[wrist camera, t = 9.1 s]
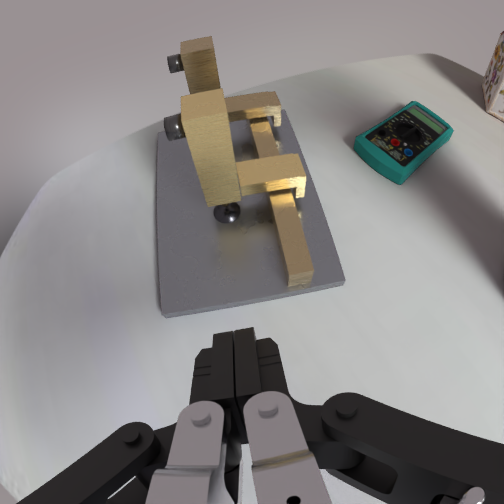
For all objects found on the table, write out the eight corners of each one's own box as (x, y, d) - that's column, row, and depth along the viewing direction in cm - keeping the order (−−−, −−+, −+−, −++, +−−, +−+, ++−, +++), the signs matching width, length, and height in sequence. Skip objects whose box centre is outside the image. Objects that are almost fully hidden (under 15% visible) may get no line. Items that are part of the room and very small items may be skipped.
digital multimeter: (348, 152, 35) (352, 135, 33) (409, 111, 39) (414, 96, 36) (395, 191, 32) (403, 175, 30) (449, 141, 36) (456, 126, 33)
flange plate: (284, 116, 38) (284, 108, 37) (342, 285, 28) (345, 279, 26) (160, 139, 38) (157, 132, 36) (166, 318, 27) (161, 314, 26)
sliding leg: (295, 178, 31) (301, 78, 20) (303, 201, 30) (314, 100, 19) (194, 196, 31) (162, 101, 20) (196, 221, 30) (160, 126, 19)
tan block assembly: (273, 113, 37) (270, 24, 25) (327, 278, 27) (361, 189, 16) (190, 127, 36) (166, 41, 25) (207, 301, 27) (160, 225, 15)
